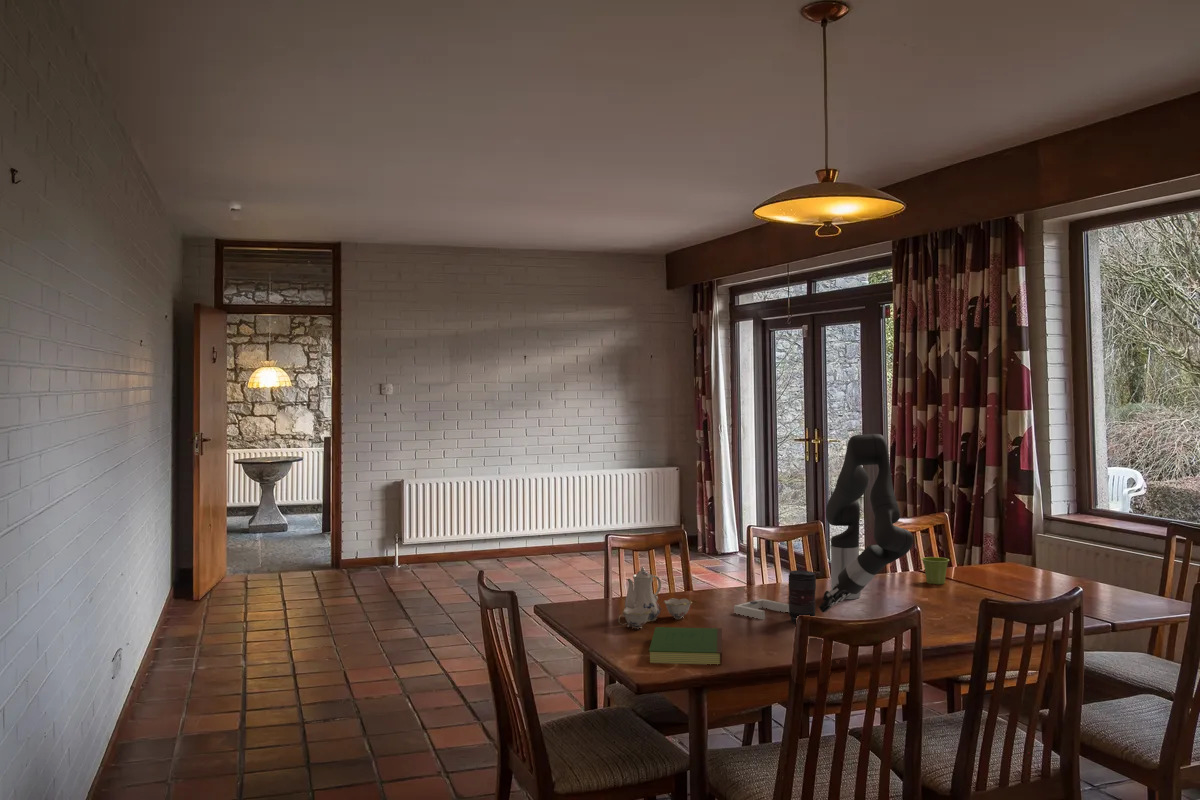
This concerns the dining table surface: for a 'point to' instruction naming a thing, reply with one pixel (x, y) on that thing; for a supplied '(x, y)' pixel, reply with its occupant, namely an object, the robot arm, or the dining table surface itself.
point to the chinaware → (648, 601)
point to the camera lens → (801, 593)
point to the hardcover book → (686, 645)
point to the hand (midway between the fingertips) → (822, 609)
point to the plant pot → (935, 569)
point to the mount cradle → (753, 607)
